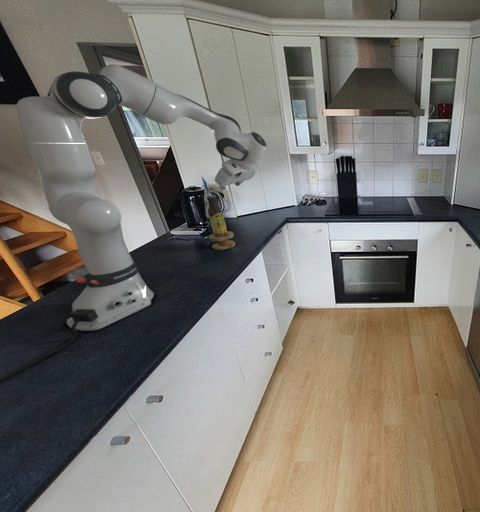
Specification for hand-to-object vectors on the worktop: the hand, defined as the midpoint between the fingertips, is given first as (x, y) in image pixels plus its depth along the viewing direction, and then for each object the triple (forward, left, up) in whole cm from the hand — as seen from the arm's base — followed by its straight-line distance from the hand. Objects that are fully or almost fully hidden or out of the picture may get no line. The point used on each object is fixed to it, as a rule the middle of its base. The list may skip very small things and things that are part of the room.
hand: (229, 186), depth 126 cm
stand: (0, +12, -31) cm, 34 cm away
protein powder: (+18, +33, -32) cm, 49 cm away
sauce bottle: (0, +12, -25) cm, 28 cm away
